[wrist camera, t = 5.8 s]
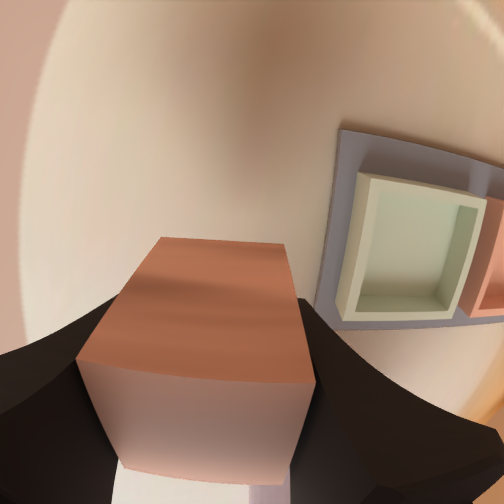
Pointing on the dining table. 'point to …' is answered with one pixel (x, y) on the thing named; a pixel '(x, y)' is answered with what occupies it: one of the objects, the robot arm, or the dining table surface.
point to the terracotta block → (203, 364)
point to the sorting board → (411, 238)
